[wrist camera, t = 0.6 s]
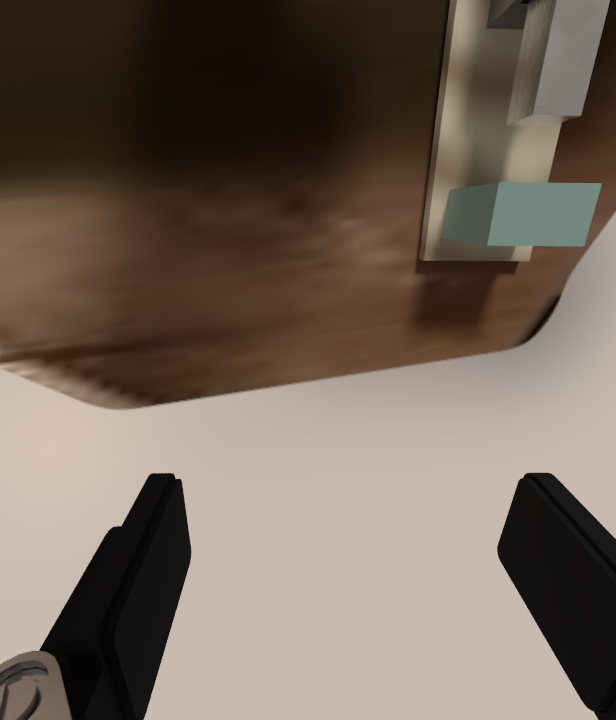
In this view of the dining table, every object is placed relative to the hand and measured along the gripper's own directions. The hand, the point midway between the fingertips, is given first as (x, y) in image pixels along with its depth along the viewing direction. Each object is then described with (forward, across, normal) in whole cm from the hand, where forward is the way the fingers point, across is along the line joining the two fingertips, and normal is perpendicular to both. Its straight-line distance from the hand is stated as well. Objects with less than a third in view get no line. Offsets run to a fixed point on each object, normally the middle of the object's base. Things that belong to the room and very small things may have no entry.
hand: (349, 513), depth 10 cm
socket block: (+26, -15, -8) cm, 32 cm away
